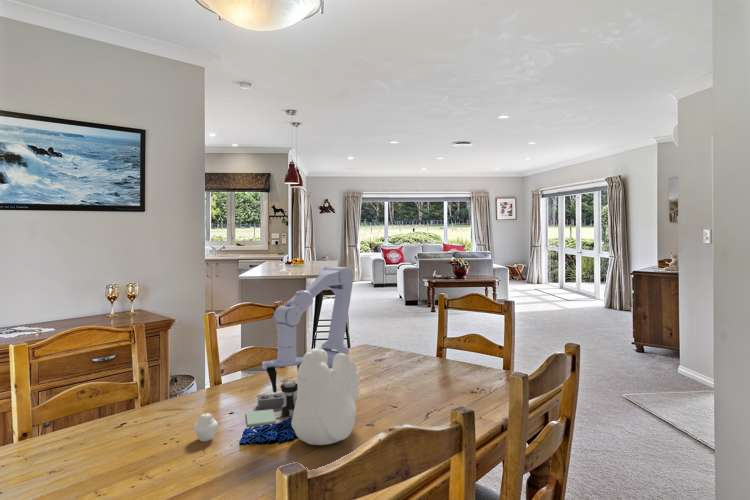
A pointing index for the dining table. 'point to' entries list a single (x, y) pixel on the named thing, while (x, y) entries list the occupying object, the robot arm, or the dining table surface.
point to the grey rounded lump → (205, 427)
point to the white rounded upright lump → (325, 398)
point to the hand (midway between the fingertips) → (287, 390)
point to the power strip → (271, 401)
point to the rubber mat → (260, 417)
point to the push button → (288, 398)
